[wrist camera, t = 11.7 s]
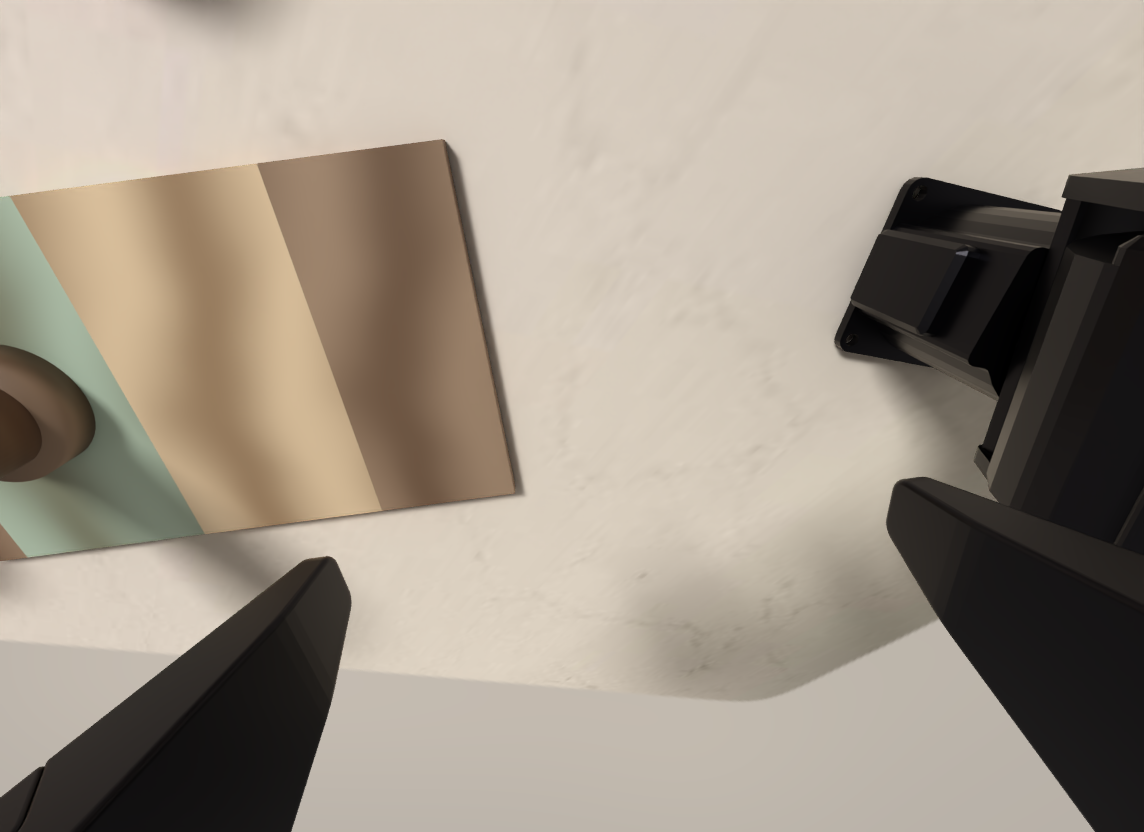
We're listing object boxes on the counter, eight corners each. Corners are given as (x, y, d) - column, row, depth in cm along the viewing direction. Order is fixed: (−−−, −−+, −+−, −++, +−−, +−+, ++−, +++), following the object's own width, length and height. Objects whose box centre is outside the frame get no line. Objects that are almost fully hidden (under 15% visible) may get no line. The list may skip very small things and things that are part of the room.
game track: (444, 140, 17) (441, 139, 16) (515, 485, 23) (514, 493, 23) (-274, 234, 17) (-300, 236, 16) (-4, 554, 23) (-17, 563, 22)
